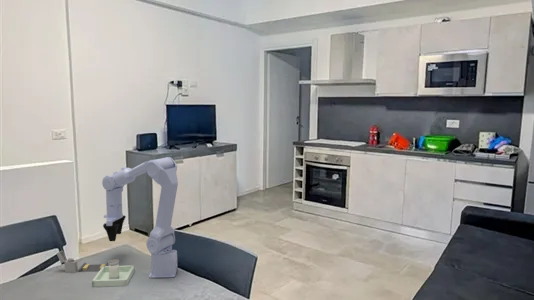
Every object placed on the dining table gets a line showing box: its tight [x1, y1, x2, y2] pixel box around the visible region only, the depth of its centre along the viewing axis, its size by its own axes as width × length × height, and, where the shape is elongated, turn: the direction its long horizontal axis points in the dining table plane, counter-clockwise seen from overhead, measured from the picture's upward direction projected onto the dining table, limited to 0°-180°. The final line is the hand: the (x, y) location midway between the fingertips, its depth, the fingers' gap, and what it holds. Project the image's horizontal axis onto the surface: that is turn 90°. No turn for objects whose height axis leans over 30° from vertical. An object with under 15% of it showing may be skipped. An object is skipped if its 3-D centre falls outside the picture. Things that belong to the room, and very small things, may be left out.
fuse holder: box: [77, 261, 109, 273], centre depth 142 cm, size 10×6×1 cm, turn 96°
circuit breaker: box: [56, 250, 79, 274], centre depth 138 cm, size 7×2×8 cm, turn 84°
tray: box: [91, 265, 136, 288], centre depth 134 cm, size 12×12×2 cm
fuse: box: [108, 258, 120, 280], centre depth 134 cm, size 4×4×6 cm
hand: (115, 237), depth 148 cm, fingers open, 7 cm apart
